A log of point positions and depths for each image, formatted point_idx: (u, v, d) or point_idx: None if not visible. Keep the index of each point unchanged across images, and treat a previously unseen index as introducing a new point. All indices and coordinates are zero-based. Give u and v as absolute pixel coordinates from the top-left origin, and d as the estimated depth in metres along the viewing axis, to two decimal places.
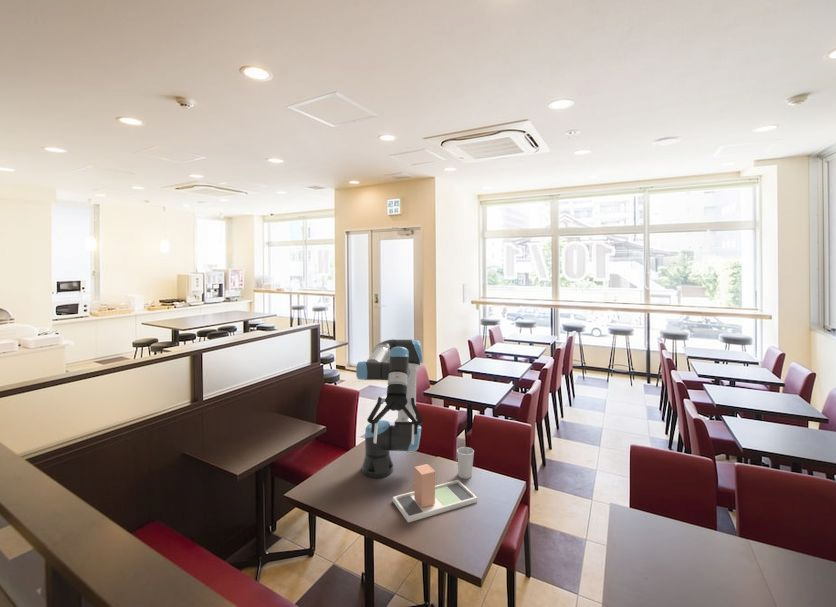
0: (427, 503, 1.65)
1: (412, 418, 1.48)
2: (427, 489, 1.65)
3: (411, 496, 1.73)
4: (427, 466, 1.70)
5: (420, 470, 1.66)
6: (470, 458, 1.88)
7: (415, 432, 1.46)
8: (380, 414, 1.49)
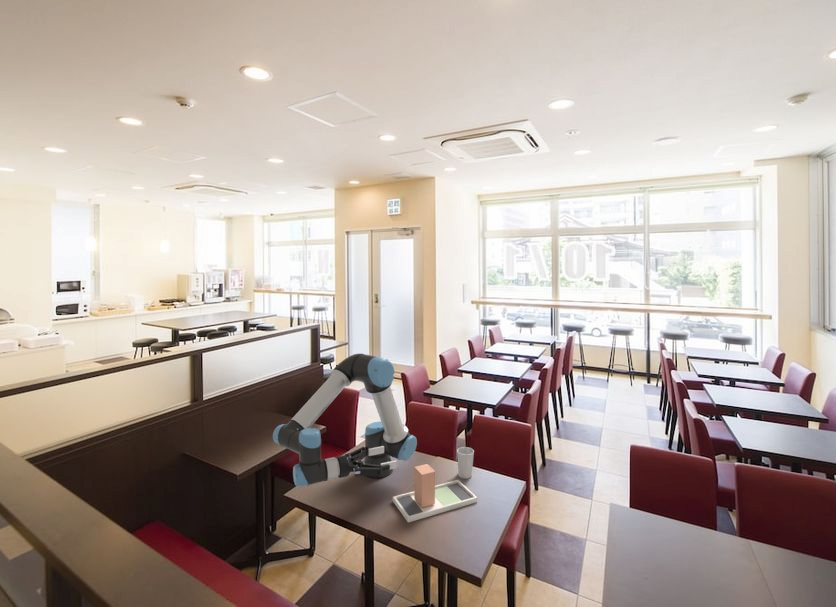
0: (427, 503, 1.65)
1: None
2: (427, 489, 1.65)
3: (411, 496, 1.73)
4: (427, 466, 1.70)
5: (420, 470, 1.66)
6: (470, 458, 1.88)
7: None
8: None
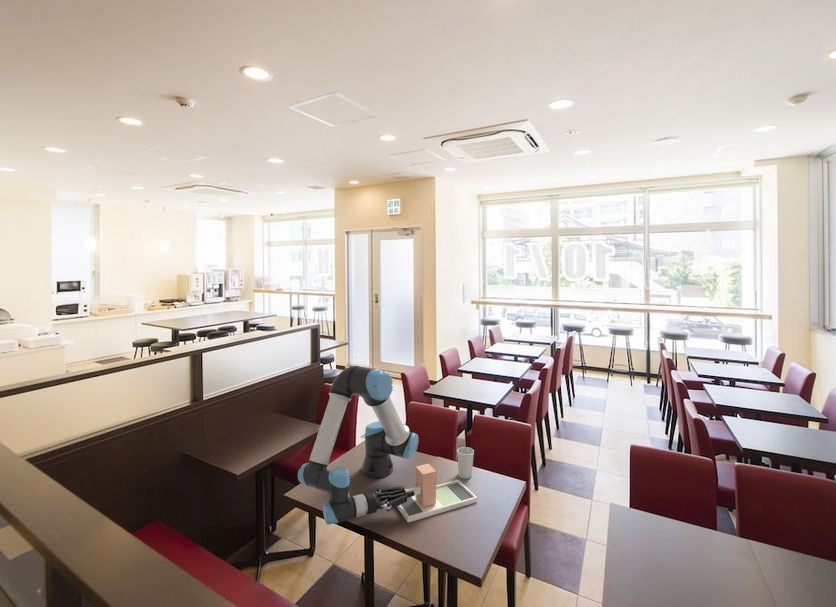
0: (428, 503, 1.65)
1: None
2: (429, 488, 1.65)
3: None
4: (429, 465, 1.70)
5: (422, 469, 1.67)
6: (470, 458, 1.88)
7: None
8: None
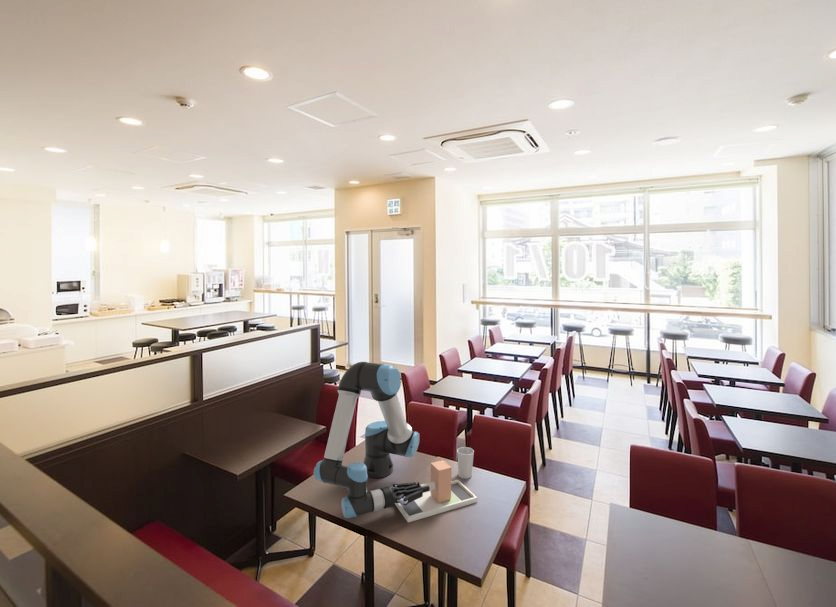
0: (443, 498, 1.68)
1: None
2: (444, 484, 1.68)
3: None
4: (443, 462, 1.73)
5: (437, 466, 1.70)
6: (470, 458, 1.88)
7: None
8: None
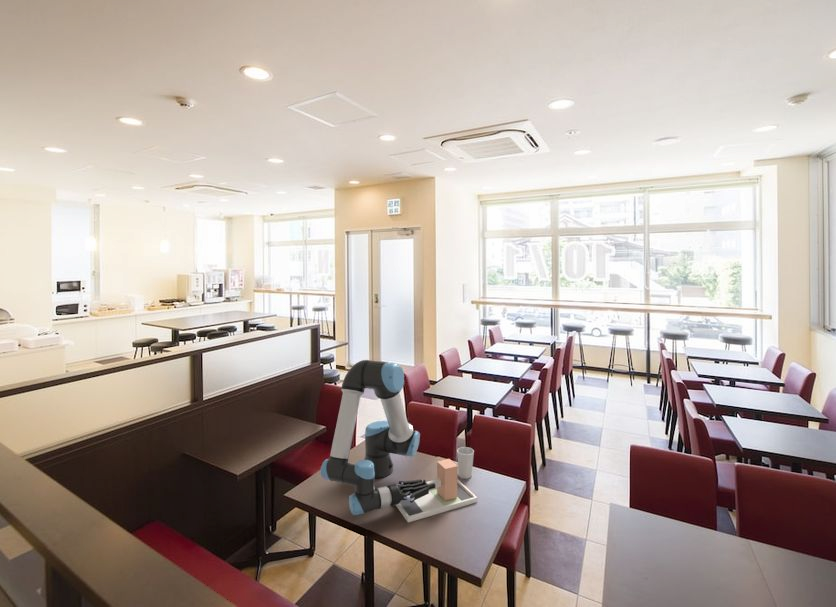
0: (450, 497, 1.70)
1: None
2: (450, 483, 1.69)
3: None
4: (450, 460, 1.74)
5: (443, 464, 1.71)
6: (470, 458, 1.88)
7: None
8: None
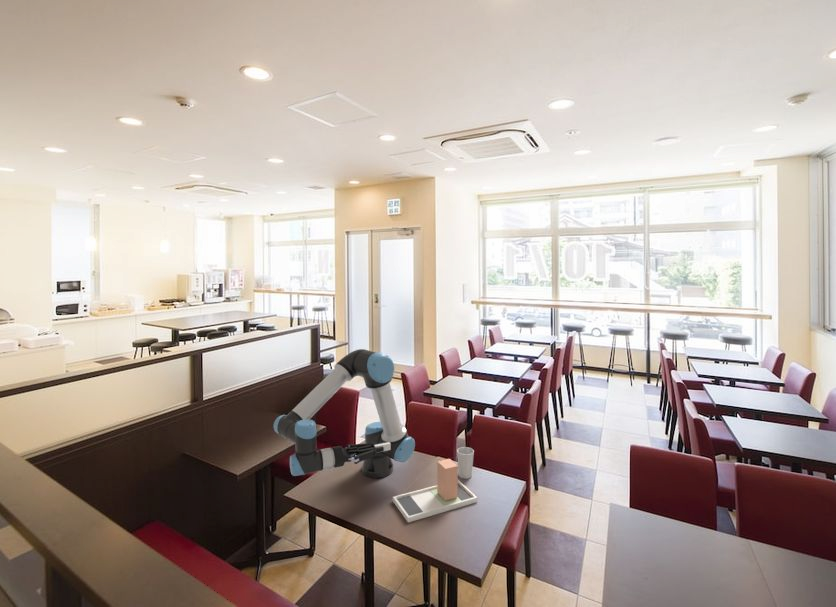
0: (450, 497, 1.70)
1: None
2: (451, 483, 1.69)
3: (411, 496, 1.73)
4: (450, 460, 1.74)
5: (443, 464, 1.71)
6: (470, 458, 1.88)
7: None
8: None
